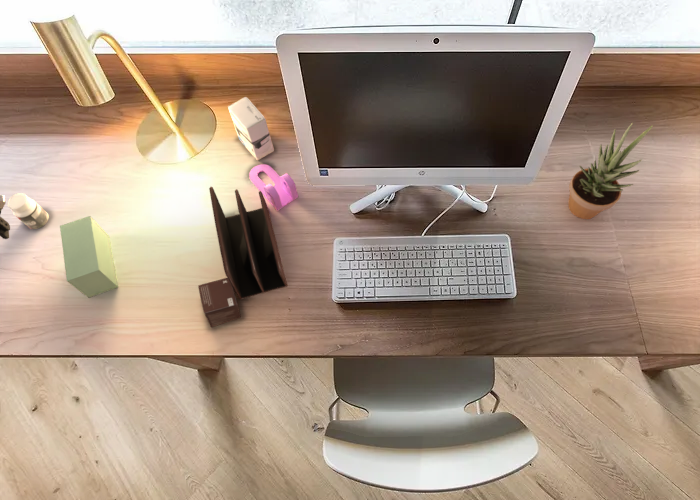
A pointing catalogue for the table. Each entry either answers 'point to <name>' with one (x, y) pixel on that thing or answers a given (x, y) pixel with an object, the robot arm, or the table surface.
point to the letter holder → (248, 248)
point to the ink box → (251, 128)
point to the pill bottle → (28, 211)
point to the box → (219, 302)
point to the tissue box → (88, 257)
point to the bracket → (280, 192)
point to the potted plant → (601, 180)
